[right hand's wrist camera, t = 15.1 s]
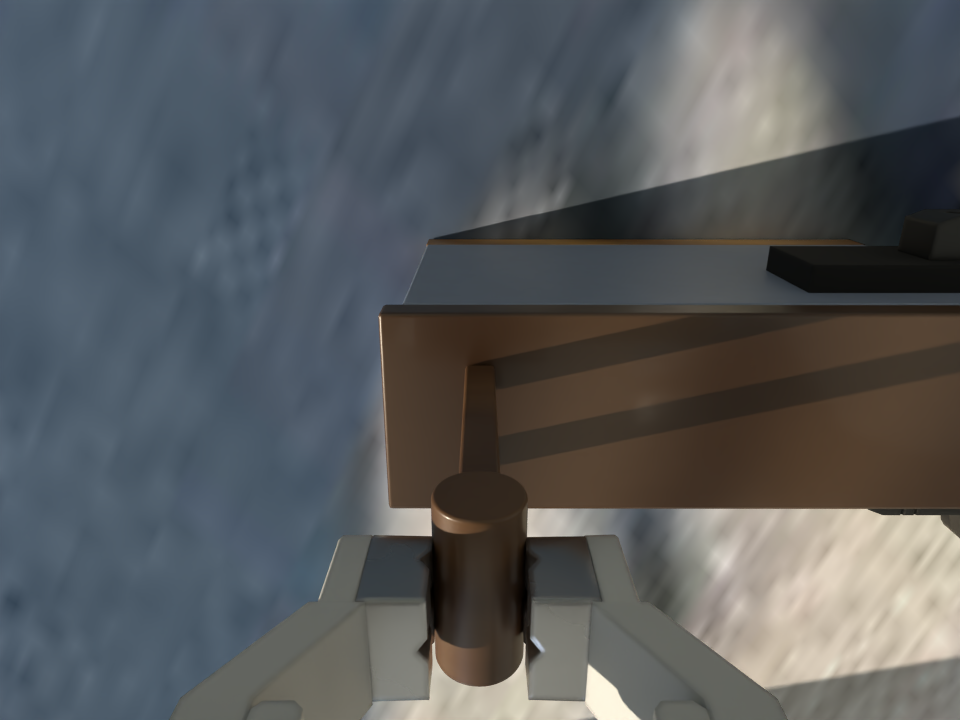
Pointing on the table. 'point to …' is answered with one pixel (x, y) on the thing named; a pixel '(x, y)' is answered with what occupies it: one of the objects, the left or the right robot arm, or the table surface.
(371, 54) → the table surface
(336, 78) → the table surface
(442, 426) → the lid
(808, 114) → the table surface
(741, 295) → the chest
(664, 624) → the right robot arm
